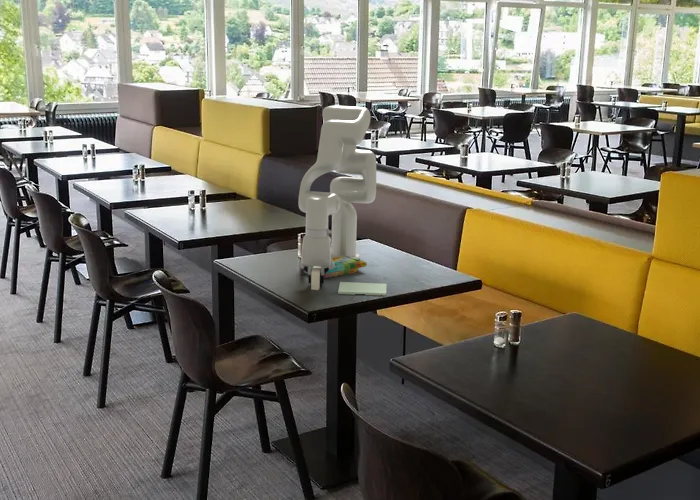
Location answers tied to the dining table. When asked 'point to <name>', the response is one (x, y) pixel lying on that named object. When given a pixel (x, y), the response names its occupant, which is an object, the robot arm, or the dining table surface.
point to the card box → (315, 278)
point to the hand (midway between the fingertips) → (316, 285)
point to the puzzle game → (344, 266)
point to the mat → (362, 288)
